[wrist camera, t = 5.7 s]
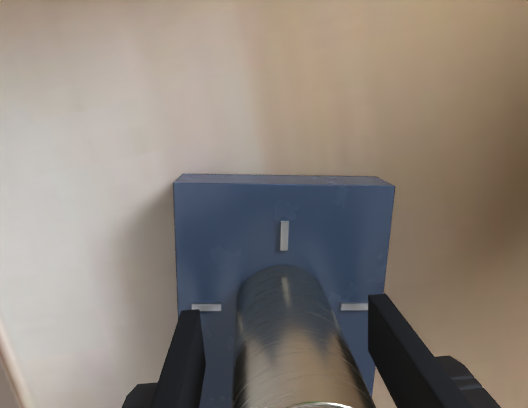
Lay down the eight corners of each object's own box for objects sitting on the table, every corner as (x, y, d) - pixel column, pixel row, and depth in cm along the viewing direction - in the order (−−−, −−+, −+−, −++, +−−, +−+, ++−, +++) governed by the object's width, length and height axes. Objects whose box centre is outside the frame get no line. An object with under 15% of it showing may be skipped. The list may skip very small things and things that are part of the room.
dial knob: (236, 264, 17) (226, 415, 8) (329, 264, 17) (410, 411, 9) (235, 346, 18) (226, 554, 10) (323, 345, 18) (391, 548, 10)
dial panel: (182, 173, 18) (171, 183, 16) (376, 176, 19) (397, 186, 16) (188, 377, 21) (180, 413, 19) (357, 374, 22) (372, 409, 19)
